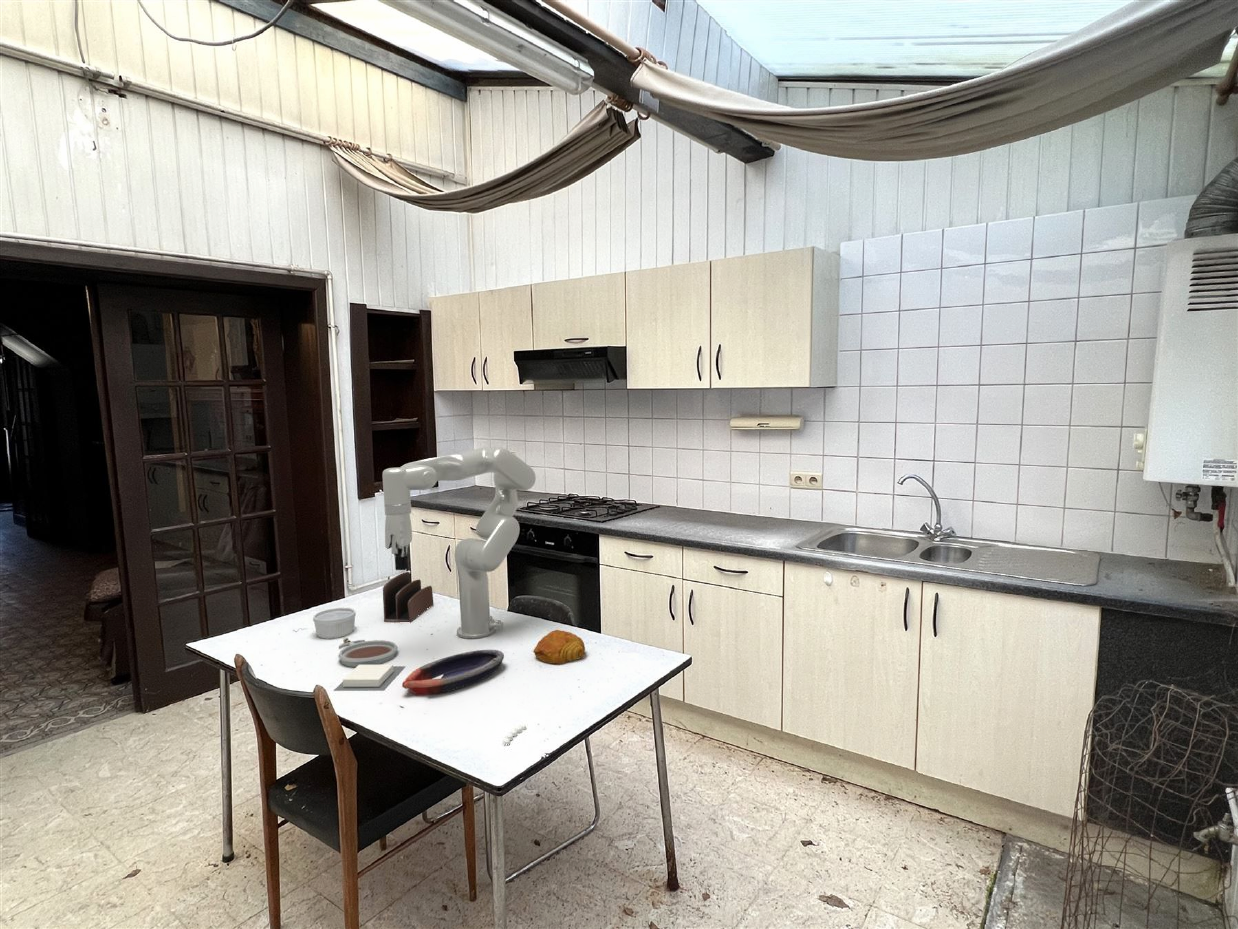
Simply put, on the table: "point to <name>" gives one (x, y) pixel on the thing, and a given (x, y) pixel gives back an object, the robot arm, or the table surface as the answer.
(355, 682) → the tile
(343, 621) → the ramekin
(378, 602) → the table surface
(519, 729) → the white bumpy strip
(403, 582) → the letter holder
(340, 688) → the mat
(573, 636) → the croissant
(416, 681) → the dish
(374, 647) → the oval picture frame
